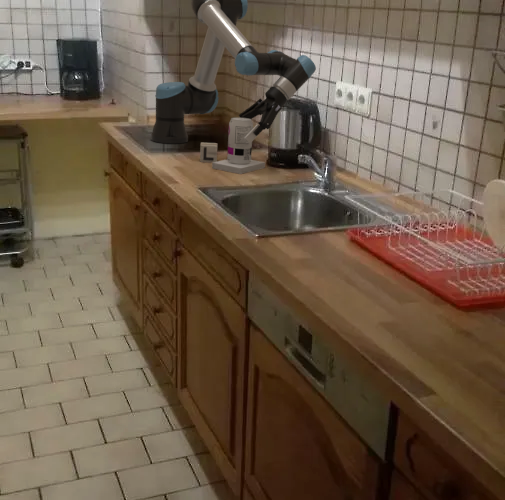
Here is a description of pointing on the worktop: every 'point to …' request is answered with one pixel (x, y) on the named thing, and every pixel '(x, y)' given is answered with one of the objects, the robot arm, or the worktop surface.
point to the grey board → (238, 166)
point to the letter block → (208, 152)
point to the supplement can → (239, 141)
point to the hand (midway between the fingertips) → (238, 137)
